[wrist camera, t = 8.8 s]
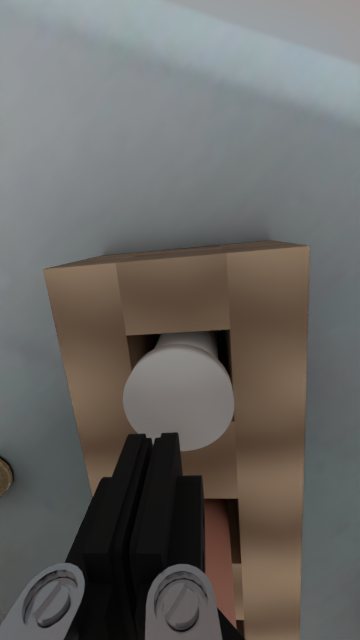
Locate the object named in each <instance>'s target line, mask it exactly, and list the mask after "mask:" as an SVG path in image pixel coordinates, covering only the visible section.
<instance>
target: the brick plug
mask: <svg viewBox="0 0 360 640" xmlns="http://www.w3.org/2000/svg"><path fill="white" fill-rule="evenodd" d="M204 505H205V569H206V576H207V578H208V579H209V581H210V582H211V584H212V587H213V590H214V594H215V599H216V605H217V608H218V609H219V610H220V611H221V612H222V613H223V614H224V616H225V617H226V618H227V619H228V620H229V621H230V622H231V624H232V625H233V626H234V627H235V628H236V629H237V627H236V613H235V600H234V586H233V572H232V559H231V545H230V532H229V518H228V504H227V499H204Z"/></svg>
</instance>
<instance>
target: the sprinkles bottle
mask: <svg viewBox="0 0 360 640" xmlns="http://www.w3.org/2000/svg"><path fill="white" fill-rule="evenodd" d="M12 480H13V477H12V472H11V470H10V468H9V466H8V465H7V463H5V462H4V461H3V460H2V459H0V497H1V495H2V494H3V493H4V492H6V491H7V490H8V489H9V487H10V486H11V484H12Z"/></svg>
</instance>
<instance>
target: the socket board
mask: <svg viewBox="0 0 360 640" xmlns="http://www.w3.org/2000/svg"><path fill="white" fill-rule="evenodd" d="M309 263H310V246H307V245H300V244H293V243H286V242H278V241H260V242H249V243H238V244H227V245H216V246H205V247H194V248H183V249H172V250H161V251H150V252H139V253H128V254H117V255H106V256H99V257H94V258H90V259H86V260H81V261H77V262H73V263H68V264H64V265H59V266H55V267H51V268H46V269H43V272H44V276H45V281H46V286H47V290H48V295H49V299H50V304H51V309H52V313H53V318H54V322H55V327H56V332H57V336H58V341H59V345H60V350H61V355H62V359H63V364H64V368H65V373H66V378H67V382H68V387H69V391H70V396H71V401H72V405H73V410H74V414H75V419H76V424H77V428H78V433H79V437H80V442H81V447H82V451H83V456H84V460H85V465H86V470H87V474H88V479H89V483H90V488H91V492H92V497H93V496H94V493H95V491H96V489H97V486H98V484H99V482H100V480H101V479H102V478H103V477H112V475H113V472H114V469H115V467H116V464H117V462H118V459H119V456H120V454H121V451H122V449H123V446H124V443H125V441H126V438H127V436H128V434H138V433H137V432H136V431H135V430H134V428H133V427H132V426H131V424H130V423H129V421H128V419H127V417H126V414H125V411H124V407H123V392H124V387H125V384H126V382H127V380H128V378H129V376H130V374H131V372H132V370H133V369H134V367H135V365H136V364H137V362H138V361H139V360H140V359H141V358H142V357H143V356H144V355H145V354H147V353H148V352H150V351H152V350H153V349H154V348H155V346H156V344H157V342H158V340H159V335H158V334H161V333H178V332H195V331H212V330H224V338H225V357H226V358H224V359H219V361H220V362H221V364H222V365H223V366H224V368H225V369H226V371H227V373H228V375H229V377H230V380H231V384H232V390H233V396H234V413H233V417H232V420H231V422H230V424H229V426H228V428H227V429H226V431H225V432H224V433H223V434H222V435H221V436H220V437H219V438H218V439H217V440H216V441H214V442H213V443H211V444H209V445H207V446H205V447H203V448H199V449H196V450H191V451H180V452H181V462H182V471H183V476H187V475H202V480H203V491H204V499H227V504H228V518H229V532H230V545H231V559H232V572H233V586H234V600H235V613H236V627H237V631H238V632H239V633H240V634H241V635H242V636H243V637H244V639H245V640H299V631H300V594H301V557H302V521H303V484H304V447H305V410H306V374H307V337H308V300H309ZM153 445H154V444H153Z"/></svg>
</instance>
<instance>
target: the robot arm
mask: <svg viewBox="0 0 360 640" xmlns="http://www.w3.org/2000/svg"><path fill="white" fill-rule="evenodd" d="M0 640H245V639H244V637H243V636H242V635H241V634H240V633H239V632H238V631H237V629H236V628H235V627H234V626H233V625H232V624H231V622H230V621H229V620H228V619H227V618H226V617H225V616H224V614H223V613H222V612H221V611H220V610H219V609H218V608H217V605H216V599H215V594H214V590H213V587H212V584H211V582H210V581H209V579H208V578H207V576H206V569H205V505H204V491H203V480H202V475H187V476H183V471H182V462H181V452H180V443H179V435H178V432H172V433H161V437H159V438H155V440H154V445H153V444H152V439H151V438H146V434H145V433H142V434H128V436H127V438H126V441H125V443H124V446H123V449H122V451H121V454H120V456H119V459H118V462H117V464H116V467H115V469H114V472H113V475H112V477H103V478H102V479H101V480H100V482H99V484H98V486H97V489H96V491H95V493H94V496H93V498H92V500H91V503H90V505H89V507H88V510H87V512H86V514H85V517H84V519H83V521H82V524H81V526H80V528H79V531H78V533H77V535H76V538H75V540H74V543H73V545H72V547H71V550H70V552H69V554H68V557H67V559H66V561H65V563H59V564H55V565H52V566H50V567H48V568H46V569H45V570H43V571H41V572H40V573H39V574H37V575H36V576H35V577H34V578H33V579H32V580H31V581H30V582H29V583H28V585H27V586H26V587H25V588H24V590H23V591H22V593H21V594H20V596H19V597H18V599H17V600H16V602H15V603H14V605H13V607H12V608H11V610H10V611H9V613H8V614H7V616H6V618H5V619H4V621H3V622H2V624H1V625H0Z"/></svg>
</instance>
